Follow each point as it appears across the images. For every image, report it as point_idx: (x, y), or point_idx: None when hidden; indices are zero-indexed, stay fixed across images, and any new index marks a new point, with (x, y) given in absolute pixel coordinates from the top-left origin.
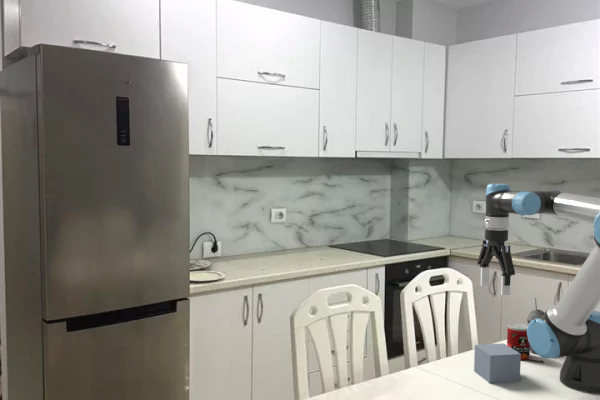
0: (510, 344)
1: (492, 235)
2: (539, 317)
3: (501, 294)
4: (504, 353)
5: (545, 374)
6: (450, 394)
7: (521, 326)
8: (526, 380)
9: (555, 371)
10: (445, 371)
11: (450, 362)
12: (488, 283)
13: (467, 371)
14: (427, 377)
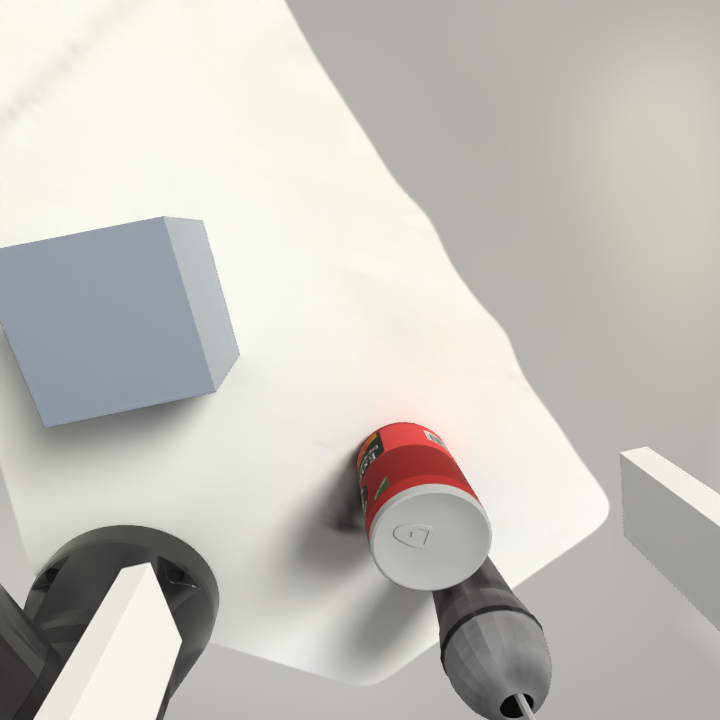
0: (390, 450)
1: None
2: (460, 674)
3: (134, 569)
4: (32, 345)
5: (206, 497)
6: None
7: (438, 552)
8: None
9: (243, 540)
10: (177, 70)
11: (306, 132)
12: (643, 553)
13: (193, 186)
14: None
